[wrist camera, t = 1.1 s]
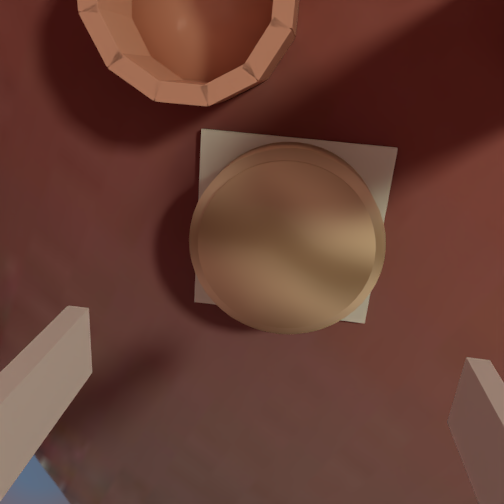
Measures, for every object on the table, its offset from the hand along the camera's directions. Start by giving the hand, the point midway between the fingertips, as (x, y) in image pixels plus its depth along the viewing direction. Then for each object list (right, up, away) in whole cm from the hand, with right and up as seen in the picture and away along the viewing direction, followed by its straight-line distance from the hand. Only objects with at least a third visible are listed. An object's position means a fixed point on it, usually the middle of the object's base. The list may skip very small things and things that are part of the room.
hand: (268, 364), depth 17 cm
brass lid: (+2, +5, +14) cm, 15 cm away
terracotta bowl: (-3, +18, +11) cm, 21 cm away
